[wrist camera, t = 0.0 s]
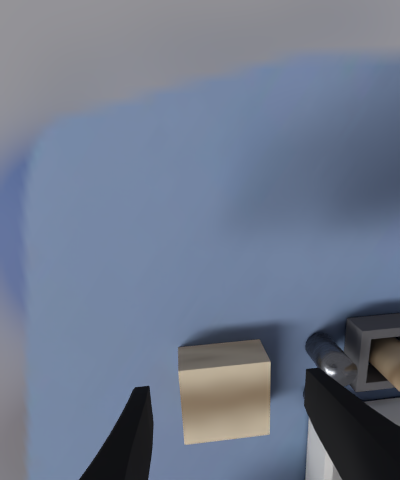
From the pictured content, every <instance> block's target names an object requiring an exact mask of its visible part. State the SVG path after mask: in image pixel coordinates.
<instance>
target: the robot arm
mask: <svg viewBox="0 0 400 480" xmlns="http://www.w3.org/2000/svg"><path fill="white" fill-rule="evenodd" d="M304 406H305V409H306V411H307V414H308V416H309V418H310V421H311V423H312V425H313V428H314V430H315V432H316V434H317V435H318V437H319V439H320V441H321V443H322V444H323V446H324V448H325V450H326V452H327V454H328V455H329V457H330V459H331V461H332V462H333V464H334V466H335V468H336V470H337V471H338V473H339V475H340V477H341V479H342V480H400V426H398V425H397V424H395V423H393V422H392V421H390V420H389V419H387V418H386V417H384V416H383V415H382V414H380V413H379V412H377V411H376V410H374V409H373V408H371V407H370V406H369V405H367V404H366V403H364V402H363V401H362V400H360V399H359V398H358V397H356V396H355V395H354V394H352V393H351V392H350V391H348V390H347V389H346V388H344V387H343V386H342V385H341V384H339V383H338V382H337V381H336V380H334V379H333V378H332V377H330V376H329V375H328V374H327V373H325V372H324V371H323V370H321V369H320V368H312V369H306V382H305V400H304ZM152 444H153V414H152V406H151V397H150V388H149V386H143V387H135V388H134V389H133V391H132V393H131V396H130V398H129V400H128V402H127V404H126V406H125V408H124V410H123V412H122V414H121V415H120V417H119V419H118V421H117V423H116V424H115V426H114V428H113V430H112V431H111V433H110V435H109V436H108V438H107V439H106V441H105V443H104V444H103V446H102V447H101V449H100V451H99V452H98V454H97V455H96V457H95V458H94V460H93V461H92V462H91V464H90V465H89V467H88V468H87V469H86V471H85V472H84V474H83V475H82V476H81V478H80V479H79V480H148V476H149V469H150V462H151V455H152Z"/></svg>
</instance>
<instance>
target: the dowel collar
mask: <svg viewBox="0 0 400 480" xmlns="http://www.w3.org/2000/svg"><path fill="white" fill-rule="evenodd" d="M398 336H399V337H398ZM388 337H398V340H399V341H400V313H396V314H386V315H375V316H365V317H354V318H347V325H346V336H345V347H344V353H345V354H346V355H347V356H348V357H349V358H350V359H351V360H352V361H353V362H354V364H355V365H356V366H357V370H358V372H357V376H356V378H355V379H354V381H353V382H352V383H350V386H351V387H352V388H353V389H354V391H355V392H362V391H371V390H380V389H388V388H395V387H394V386H393V385H392V384H391V383H390V382H389V381H388V380H387V379H386V378H385V377H384V376H383V375H382V374H381V373H380V372H379V371H378V370H377V369H376V368H375V367H374V366H373V365H368V361H369V353H370V345H371V339H379V338H388Z"/></svg>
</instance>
